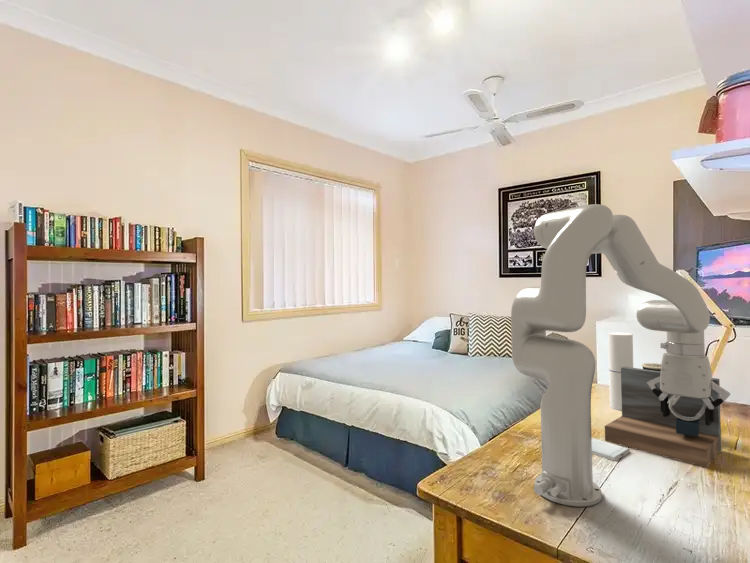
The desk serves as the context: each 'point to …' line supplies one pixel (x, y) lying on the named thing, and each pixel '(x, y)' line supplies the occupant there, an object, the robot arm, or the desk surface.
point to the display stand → (662, 422)
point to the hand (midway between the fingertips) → (687, 419)
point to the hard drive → (608, 450)
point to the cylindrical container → (618, 364)
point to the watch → (686, 419)
